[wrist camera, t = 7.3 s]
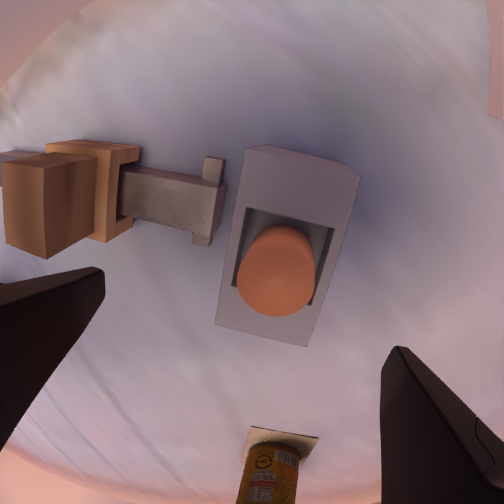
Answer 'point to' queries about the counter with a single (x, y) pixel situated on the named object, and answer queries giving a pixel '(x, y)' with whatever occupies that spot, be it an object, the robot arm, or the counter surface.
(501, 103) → the milk
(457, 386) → the counter surface
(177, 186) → the rail
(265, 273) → the brown rounded piece
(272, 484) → the condiment
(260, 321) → the grey peg holder
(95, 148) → the carriage
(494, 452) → the robot arm
